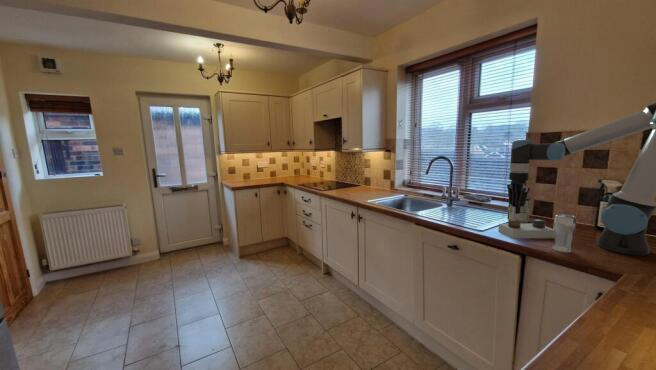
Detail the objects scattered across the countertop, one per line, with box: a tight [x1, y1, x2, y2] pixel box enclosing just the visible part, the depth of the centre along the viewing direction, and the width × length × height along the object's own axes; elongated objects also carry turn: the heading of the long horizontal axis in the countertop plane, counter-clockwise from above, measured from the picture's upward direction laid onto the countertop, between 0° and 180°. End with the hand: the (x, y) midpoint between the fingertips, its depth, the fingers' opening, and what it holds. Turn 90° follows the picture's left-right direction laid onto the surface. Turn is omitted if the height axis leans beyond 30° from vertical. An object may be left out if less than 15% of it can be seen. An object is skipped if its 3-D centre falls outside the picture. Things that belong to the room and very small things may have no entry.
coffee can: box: [507, 196, 531, 224], centre depth 156 cm, size 10×10×14 cm
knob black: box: [531, 218, 546, 228], centre depth 131 cm, size 5×5×6 cm
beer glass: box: [551, 213, 577, 254], centre depth 111 cm, size 7×7×15 cm
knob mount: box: [498, 222, 554, 239], centre depth 132 cm, size 11×20×4 cm, turn 89°
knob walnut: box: [507, 219, 522, 228], centre depth 132 cm, size 5×5×6 cm
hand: (515, 219), depth 131 cm, fingers closed
